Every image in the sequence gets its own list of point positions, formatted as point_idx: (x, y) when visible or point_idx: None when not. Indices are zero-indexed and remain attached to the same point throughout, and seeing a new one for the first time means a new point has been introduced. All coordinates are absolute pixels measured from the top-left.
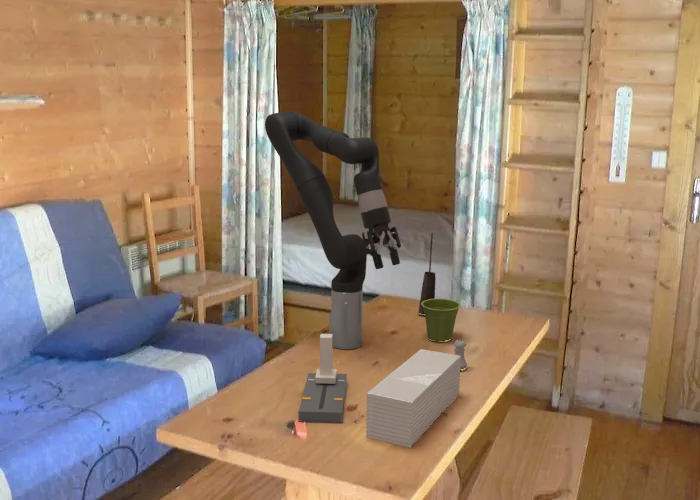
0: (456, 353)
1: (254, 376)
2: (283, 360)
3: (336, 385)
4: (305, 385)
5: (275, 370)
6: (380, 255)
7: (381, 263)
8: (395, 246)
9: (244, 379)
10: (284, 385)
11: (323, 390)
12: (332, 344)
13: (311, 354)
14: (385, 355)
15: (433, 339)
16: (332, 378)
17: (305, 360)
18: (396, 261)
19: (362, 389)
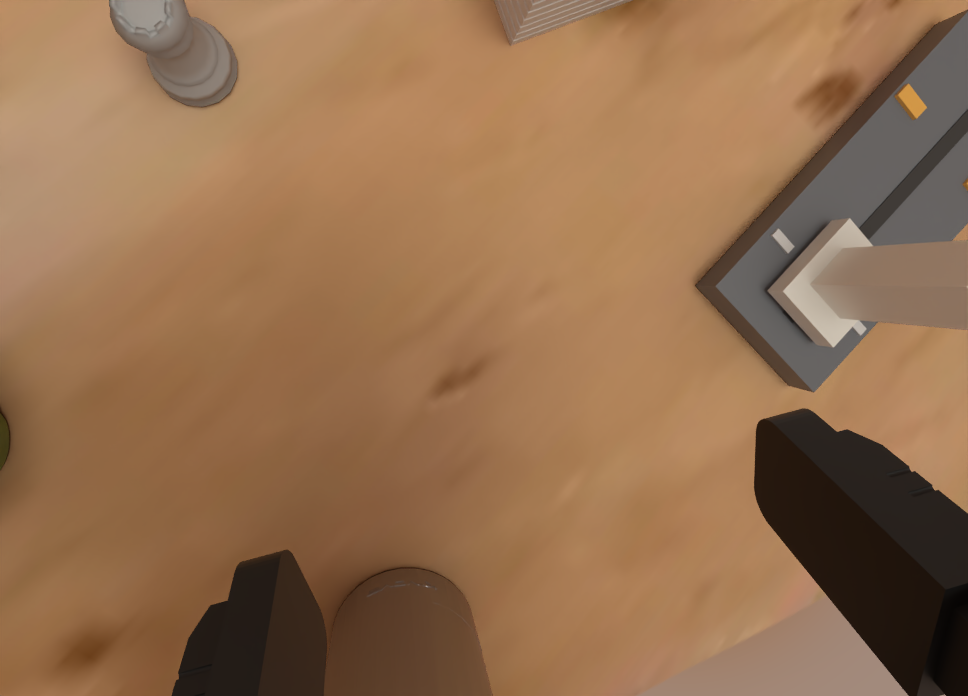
0: (193, 38)
1: None
2: (718, 623)
3: (822, 218)
4: None
5: None
6: (931, 563)
7: (843, 441)
8: None
9: None
10: (865, 413)
11: (889, 210)
12: (920, 280)
13: (597, 618)
14: (356, 424)
15: (2, 424)
16: (855, 226)
17: (657, 575)
18: (293, 606)
19: (693, 195)
